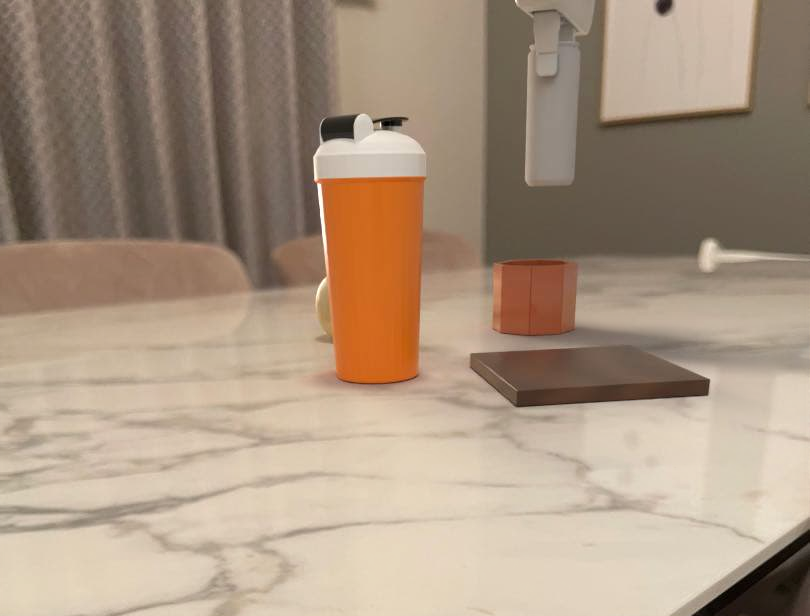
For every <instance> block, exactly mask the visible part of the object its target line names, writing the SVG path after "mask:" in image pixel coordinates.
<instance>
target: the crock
mask: <svg viewBox="0 0 810 616" xmlns="http://www.w3.org/2000/svg"><path fill="white" fill-rule="evenodd" d="M578 269H579V262H577V261H573V260H568V259H549V258H548V259H547V258H533V259H508V260H501V261H495V262H493V284H492V285H493V286H492V287H493V292H492V329H493V330H495V331H497V332H498V333H500V334H507V335H508V334H509V335H519V336H546V335H547V336H548V335H561V334H564V333H567V332H568V333H569V332H570V331H573V330H575V324H576V308H577V307H576V305H577V291H578V290H577V289H578V274H579V273H578V271H579V270H578Z"/></svg>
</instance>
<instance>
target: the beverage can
mask: <svg viewBox="0 0 810 616" xmlns="http://www.w3.org/2000/svg"><path fill="white" fill-rule="evenodd" d="M580 45H581V44H580V42H579V41H575V42H574V41H559V42H558V54H559V73H558V75H557V76H555V77H547V78H543V77H541V76H539V75H538V74H537V72H536V68H537V53H536V46H535V43H533V44H530V45H529V49H530V51H529V52H528V54H527V78H526V79H527V83H526V84H527V85H526V121H525V158H524V159H525V160H524V164H525V165H524V171H525V172H524V181H525V183H526V185H527V186H528V187H560V186H571V185H572V183H573V182H574V180H575V171H576V150H577V131H578V113H579V112H578V111H579V95H580V94H579V93H580V76H581V75H580V74H581V57H582V55H581V54H582V53H581V50H580V49H579V47H580Z"/></svg>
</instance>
